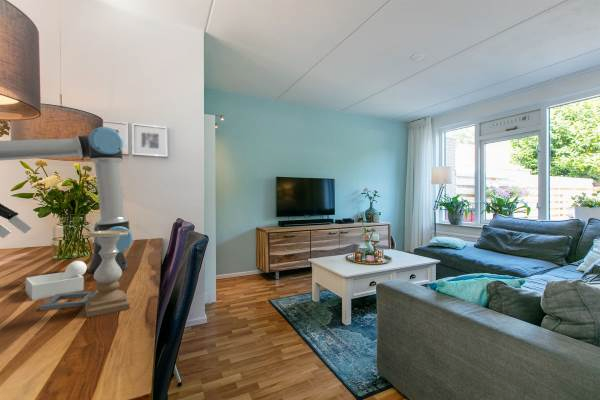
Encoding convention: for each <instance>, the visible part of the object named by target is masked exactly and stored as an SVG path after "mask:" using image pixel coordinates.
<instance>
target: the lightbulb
mask: <svg viewBox="0 0 600 400" xmlns="http://www.w3.org/2000/svg"><path fill="white" fill-rule="evenodd" d="M87 269H88V266H87V264H86V263H85V262H84V261H82V260H74V261H72V262H70V263H69V264H68V265H67V267H66V268H65V271H63V272H64V274H63V275H62V276H61V277H60V279H58V280H57V281H60V280H66V279H72V278H76V277H77V275H81V276H83V275H84V274H86V271H87Z"/></svg>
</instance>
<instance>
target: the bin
mask: <svg viewBox="0 0 600 400" xmlns="http://www.w3.org/2000/svg"><path fill="white" fill-rule="evenodd" d="M64 272H65V271H62V272H56V273H50V274H49V273H48V274H42V275H35V276H34V275H33V276H28V277H25V293H26V294H27V296H28V297H29V299H31V302H32V301H38V300H42V299H46V298H52V297H53V296H54V295H56V294H66V293H77V292H84V288H85V287H84V285H85V284H84V283H85V277H84V276H83V275H77V277H76V278H72V279H66V280H60V281H57V280H58V279H60V277H61V276H62V275H63V274H64Z"/></svg>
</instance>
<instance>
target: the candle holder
mask: <svg viewBox="0 0 600 400" xmlns="http://www.w3.org/2000/svg"><path fill="white" fill-rule="evenodd" d="M127 234H128V231H125V230H105V231H90V232H89V233H88V236H89V237H92V238H94V237H98V238H99V241H100V242H101V243H102V249H101V250H100V251H99V254H100V255H101V257H102V262H101V264H100V265H99V267H98V268H97V270H96V271H95V273H93V278H94V280H95V281H96V282H98V283H97V284H96V286H95V291H97V293H96V294H94V295H91V296H89V297H88V300H86V301H85V306H84V311H85V312H84V314H85V318H93V317H98V316H102V315H107V314H113V313H116V312H123V311H127V310H130V309H131V302H130V300H129V297H128V296H127V294H126V293H125V291H124V290H120V289H118V288H119V287H120V285H121V284H120V282H119V281H118V280H119V279H120V278H121V277H122V275H123V270H121V268H120V267H119V265H118V264H117V262H116V261H115V257H116V255H117V253H118V252H119V251H118V250H117V248H116V242H117V241H118V240H119V237H120V236H124V235H127Z"/></svg>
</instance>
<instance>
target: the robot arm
mask: <svg viewBox="0 0 600 400" xmlns="http://www.w3.org/2000/svg"><path fill="white" fill-rule="evenodd" d="M123 147H124V138H123V137H122V135H121V134H120V133H119V131H117V130H116V129H114V128H111V127H108V126H107V127H106V126H99V127H97V128H94V129H92V130H91V131H90V133H89V134H85V135H76V136H75V137H73V138H51V139H49V138H48V139H19V140H17V139H14V140H0V161H11V160H12V161H15V160H30V159H47V158H48V159H49V158H61V157H64V158H65V157H79V158H81V159H84V158H89V160H90V161H91V162H92V163H94V166H95V167H94V168H95V175H96V185H97V196H98V205H99V214H100V220H99V221H97V222H95V223H94V226H93V227H94V228H93V230H94V231H105V230H125V231H128V234H127V235H124V236H120V237H119V240H118V241H117V242H116V248H117V250H118V251H119V252H118V253H117V255H116V257H115V261H116V262H117V264H118V265H119V267H120V268H121V270H122V271H123V270H127V269H128V262H127V259H126V256H125V253H124V251H126V250H127V249H129V248H130V246H131V245H132V243H133V238H134V237H133V233H132V231H131V229H130V221H129V220H130V219H128V218H127V217H125V211H124V209H125V208H124V200H123V191H122V180H121V179H122V178H121V170H120V169H121V168H120V163H121V162H122V161H123V160H124V159H123V150H122V149H123ZM0 217H2V218H4V219H5V220H8V222H9V224H11V225H12V226H14V227H15V228H16V229H18V230H19V231H20V232H22V233H23V234H26V233H28V231H30V230H31V229H33V227H32V226H31V225H29V224H28V223H26V221H24V220H23V219H21V218H20V217H19V213H18V212H17V211H15V210H12V209H10V207H7V206H5V205H4V204H2V203H0ZM94 231H93V232H94ZM11 233H12V231H11V230H10V229H9V228H7V227H6V226H5V225H3V224H2V223H0V238H2V239H4V238H6V237H7V236H8V235H9V234H11ZM101 249H102V243H101V242H100V241H99V238H98V237H93V255H92V259H91V260H90V263H89V266H88V273H92V274H94V273H95V271H96V270H97V268H98V267H99V265H100V264H101V262H102V257H101V255H100V254H99V251H100V250H101Z"/></svg>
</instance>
